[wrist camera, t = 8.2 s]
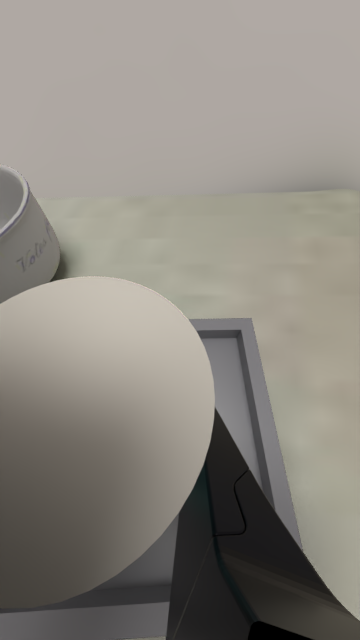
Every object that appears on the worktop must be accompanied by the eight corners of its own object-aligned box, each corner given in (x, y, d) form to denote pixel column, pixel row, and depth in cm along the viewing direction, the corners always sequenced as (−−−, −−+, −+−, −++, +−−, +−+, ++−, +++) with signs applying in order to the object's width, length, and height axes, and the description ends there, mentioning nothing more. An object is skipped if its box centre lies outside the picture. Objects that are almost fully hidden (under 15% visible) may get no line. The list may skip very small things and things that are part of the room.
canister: (162, 497, 12) (104, 733, 2) (93, 454, 13) (-189, 470, 3) (196, 416, 15) (252, 330, 4) (134, 384, 15) (54, 248, 5)
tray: (298, 599, 12) (319, 624, 10) (-15, 620, 11) (-49, 651, 10) (244, 329, 20) (251, 318, 18) (58, 333, 19) (46, 322, 18)
